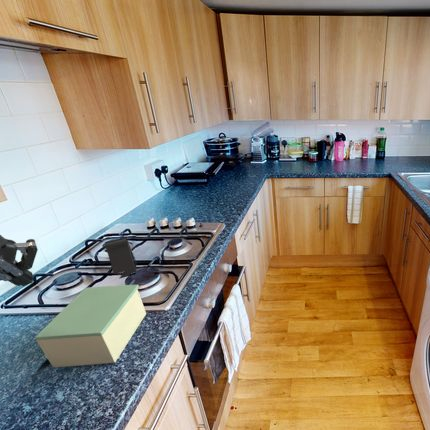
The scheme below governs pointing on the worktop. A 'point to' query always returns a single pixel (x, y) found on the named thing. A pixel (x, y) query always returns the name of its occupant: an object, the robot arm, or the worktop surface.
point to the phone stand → (121, 256)
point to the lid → (89, 312)
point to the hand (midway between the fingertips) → (27, 281)
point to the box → (97, 340)
